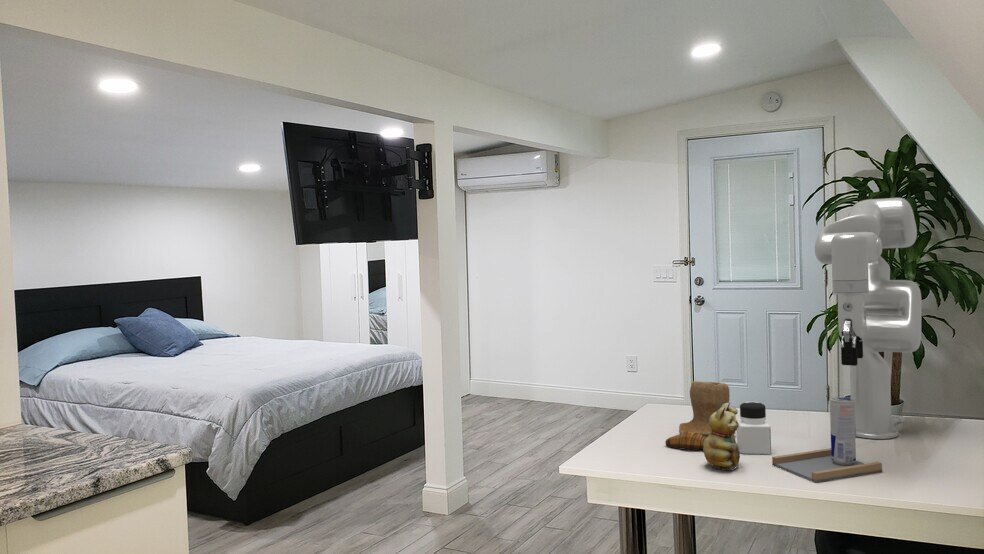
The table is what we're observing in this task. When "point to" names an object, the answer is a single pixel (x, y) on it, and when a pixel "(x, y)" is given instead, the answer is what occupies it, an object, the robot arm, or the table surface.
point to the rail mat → (822, 466)
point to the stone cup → (705, 405)
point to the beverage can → (842, 430)
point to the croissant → (687, 441)
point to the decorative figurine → (722, 439)
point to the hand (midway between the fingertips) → (852, 361)
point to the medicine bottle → (753, 429)
